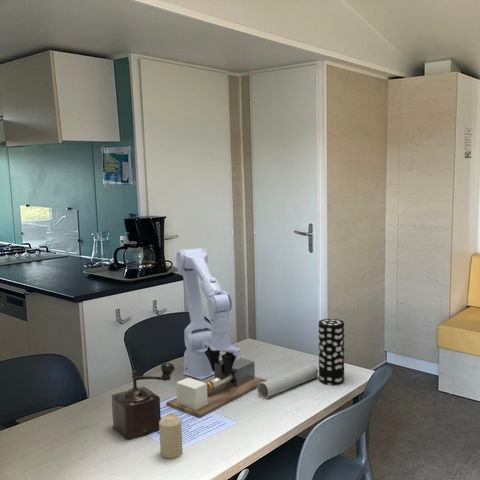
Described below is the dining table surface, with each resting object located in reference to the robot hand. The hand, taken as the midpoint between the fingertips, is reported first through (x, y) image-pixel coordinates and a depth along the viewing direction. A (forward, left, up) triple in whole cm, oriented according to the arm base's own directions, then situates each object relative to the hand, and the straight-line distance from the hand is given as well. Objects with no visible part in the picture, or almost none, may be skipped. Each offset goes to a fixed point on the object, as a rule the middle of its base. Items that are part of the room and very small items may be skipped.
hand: (221, 372), depth 175 cm
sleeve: (0, +8, -6) cm, 11 cm away
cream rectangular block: (0, -14, -6) cm, 15 cm away
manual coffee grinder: (-2, -30, -7) cm, 31 cm away
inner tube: (0, +3, -4) cm, 5 cm away
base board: (0, -2, -6) cm, 7 cm away
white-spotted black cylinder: (+23, +29, -7) cm, 38 cm away
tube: (+15, +17, -7) cm, 23 cm away
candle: (+15, -36, -7) cm, 40 cm away
